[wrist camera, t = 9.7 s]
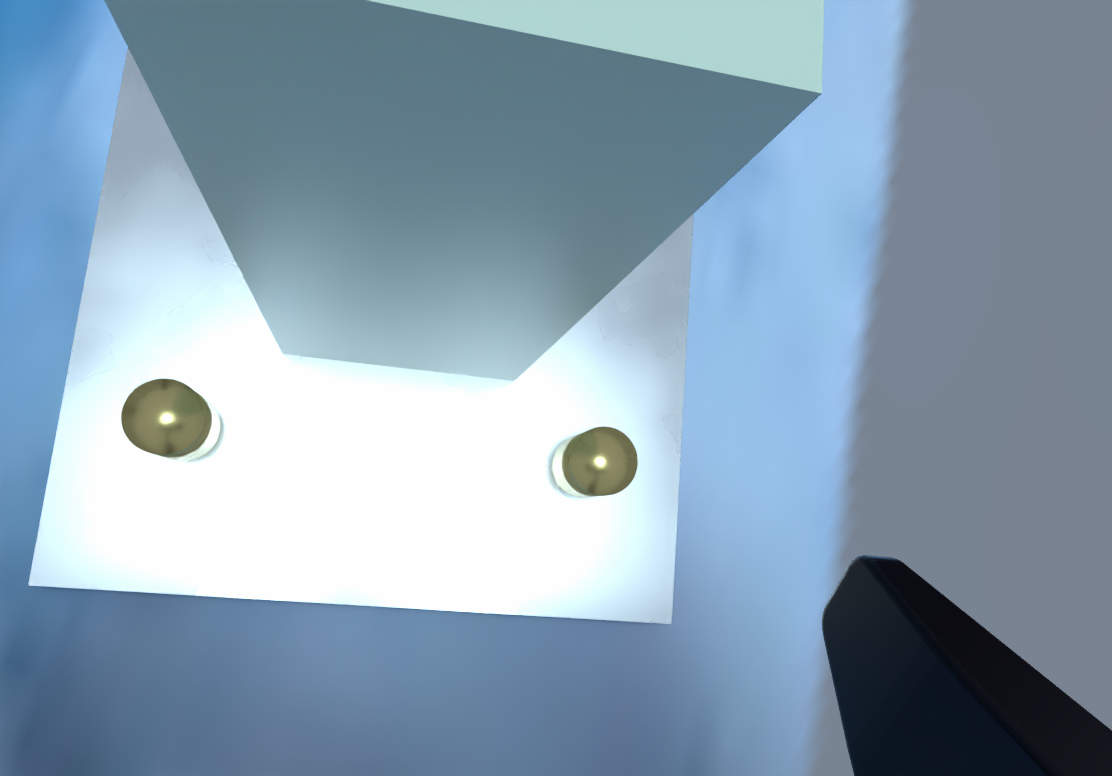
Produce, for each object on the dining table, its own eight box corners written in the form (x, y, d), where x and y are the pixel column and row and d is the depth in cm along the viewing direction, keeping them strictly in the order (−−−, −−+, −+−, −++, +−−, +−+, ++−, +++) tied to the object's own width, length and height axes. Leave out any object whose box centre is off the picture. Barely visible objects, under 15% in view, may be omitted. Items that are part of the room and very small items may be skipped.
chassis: (662, 621, 19) (703, 634, 17) (39, 583, 16) (-14, 593, 14) (697, -6, 22) (735, -69, 20) (169, -125, 19) (143, -213, 17)
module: (517, 381, 19) (828, 95, 6) (279, 353, 18) (65, -64, 5) (539, 131, 20) (842, -549, 7) (316, 91, 19) (214, -790, 6)
